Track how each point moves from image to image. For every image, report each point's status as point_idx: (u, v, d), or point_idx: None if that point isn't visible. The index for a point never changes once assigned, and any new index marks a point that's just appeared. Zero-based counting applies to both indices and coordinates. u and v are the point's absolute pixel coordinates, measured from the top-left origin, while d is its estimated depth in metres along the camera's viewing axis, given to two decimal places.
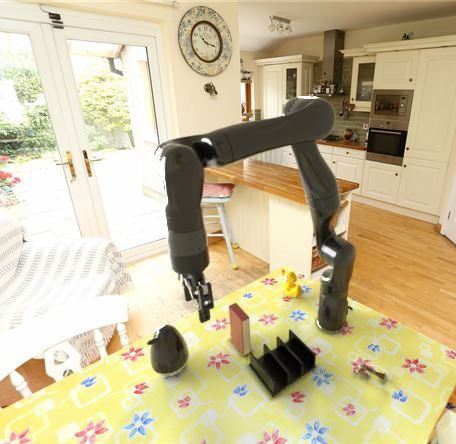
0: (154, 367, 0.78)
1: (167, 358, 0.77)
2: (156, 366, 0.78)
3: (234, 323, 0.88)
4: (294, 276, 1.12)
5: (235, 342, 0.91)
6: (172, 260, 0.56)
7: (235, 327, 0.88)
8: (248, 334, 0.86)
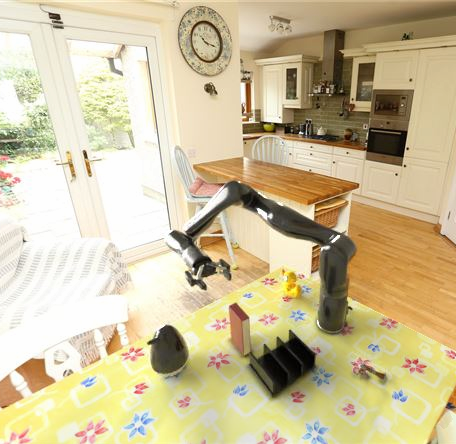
0: (154, 367, 0.78)
1: (167, 358, 0.77)
2: (156, 366, 0.78)
3: (234, 323, 0.88)
4: (294, 276, 1.12)
5: (235, 342, 0.91)
6: None
7: (235, 327, 0.88)
8: (248, 334, 0.86)
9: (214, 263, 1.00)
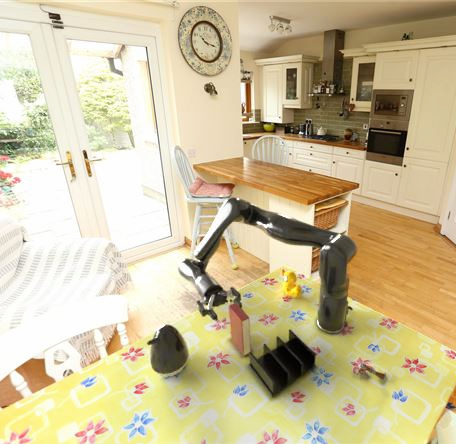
0: (154, 367, 0.78)
1: (167, 358, 0.77)
2: (156, 366, 0.78)
3: (234, 323, 0.88)
4: (294, 276, 1.12)
5: (235, 342, 0.91)
6: None
7: (235, 327, 0.88)
8: (248, 334, 0.86)
9: (225, 292, 1.02)
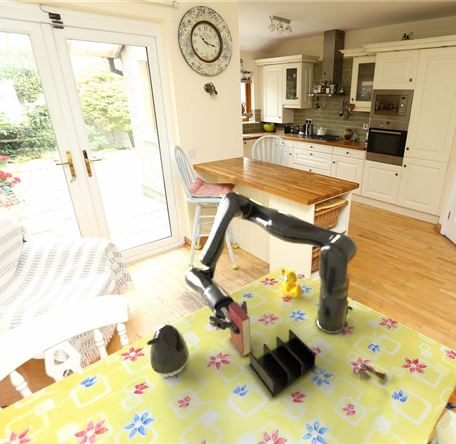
0: (154, 367, 0.78)
1: (167, 358, 0.77)
2: (156, 366, 0.78)
3: None
4: (294, 276, 1.12)
5: (235, 342, 0.91)
6: None
7: None
8: (248, 334, 0.86)
9: None
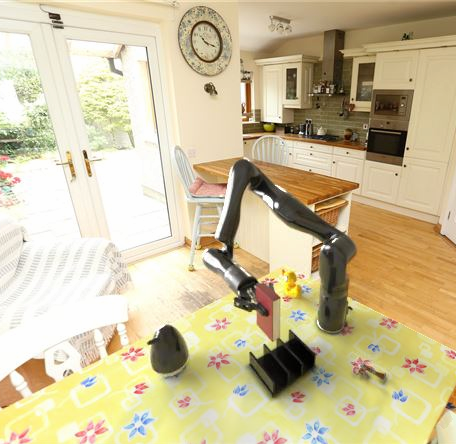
0: (154, 367, 0.78)
1: (167, 358, 0.77)
2: (156, 366, 0.78)
3: None
4: (294, 276, 1.12)
5: (262, 326, 0.82)
6: None
7: None
8: (278, 317, 0.77)
9: None
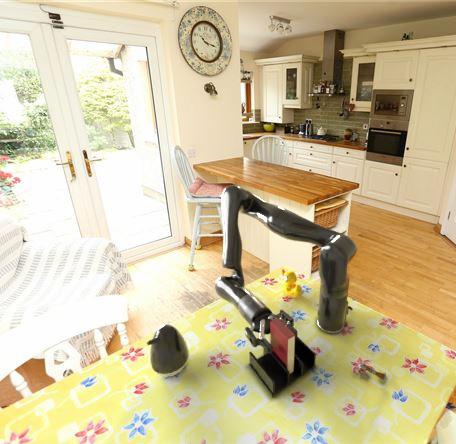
0: (154, 367, 0.78)
1: (167, 358, 0.77)
2: (156, 366, 0.78)
3: (276, 340, 0.81)
4: (294, 276, 1.12)
5: None
6: None
7: (277, 345, 0.81)
8: (293, 353, 0.79)
9: (275, 316, 0.88)
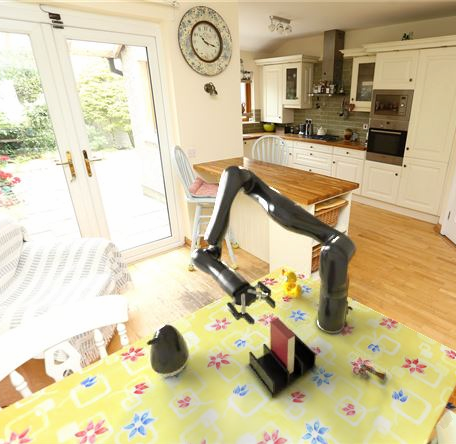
0: (154, 367, 0.78)
1: (167, 358, 0.77)
2: (156, 366, 0.78)
3: (276, 340, 0.81)
4: (294, 276, 1.12)
5: None
6: None
7: (277, 345, 0.81)
8: (293, 353, 0.79)
9: (253, 288, 0.96)
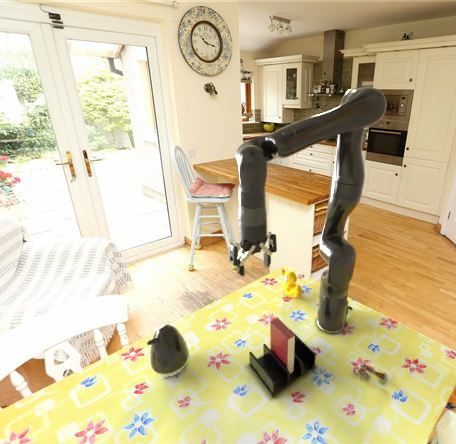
0: (154, 367, 0.78)
1: (167, 358, 0.77)
2: (156, 366, 0.78)
3: (276, 340, 0.81)
4: (294, 276, 1.12)
5: None
6: None
7: (277, 345, 0.81)
8: (293, 353, 0.79)
9: (265, 240, 0.82)
